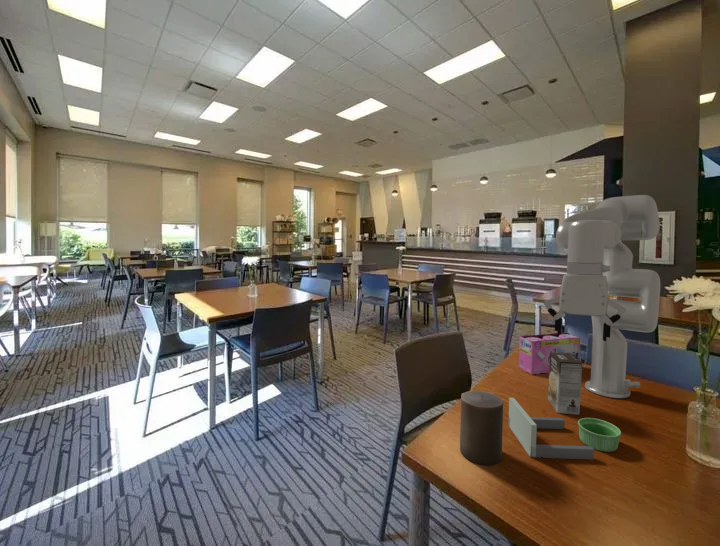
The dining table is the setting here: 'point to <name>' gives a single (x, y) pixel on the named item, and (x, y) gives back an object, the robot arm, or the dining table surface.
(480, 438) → the pillar candle
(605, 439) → the ramekin
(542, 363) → the gum box
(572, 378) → the coffee box
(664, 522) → the dining table surface
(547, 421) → the display stand
